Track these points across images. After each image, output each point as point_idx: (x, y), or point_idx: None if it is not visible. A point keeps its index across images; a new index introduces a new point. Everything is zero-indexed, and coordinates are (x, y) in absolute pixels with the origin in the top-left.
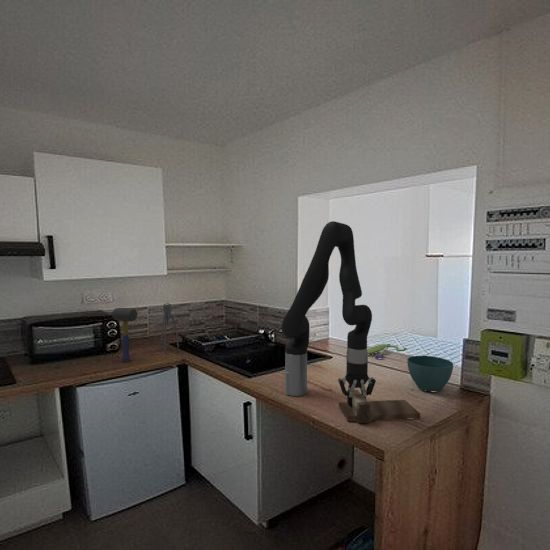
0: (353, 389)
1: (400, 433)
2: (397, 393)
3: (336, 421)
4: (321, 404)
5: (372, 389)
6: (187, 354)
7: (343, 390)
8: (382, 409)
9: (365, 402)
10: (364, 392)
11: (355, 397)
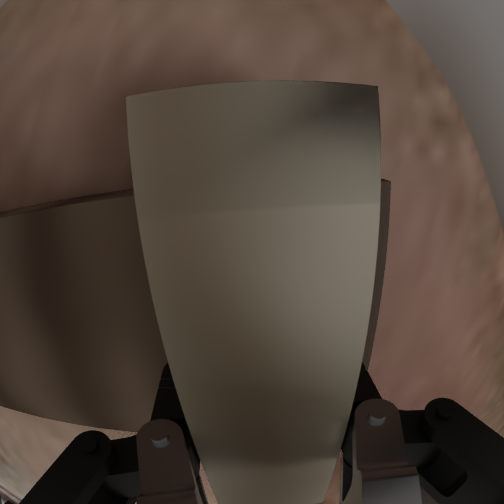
0: (377, 497)
1: (30, 20)
2: (32, 459)
3: (437, 196)
4: (415, 407)
5: (44, 481)
6: None
7: (489, 438)
8: (44, 312)
9: (201, 183)
10: (163, 470)
11: (322, 392)
